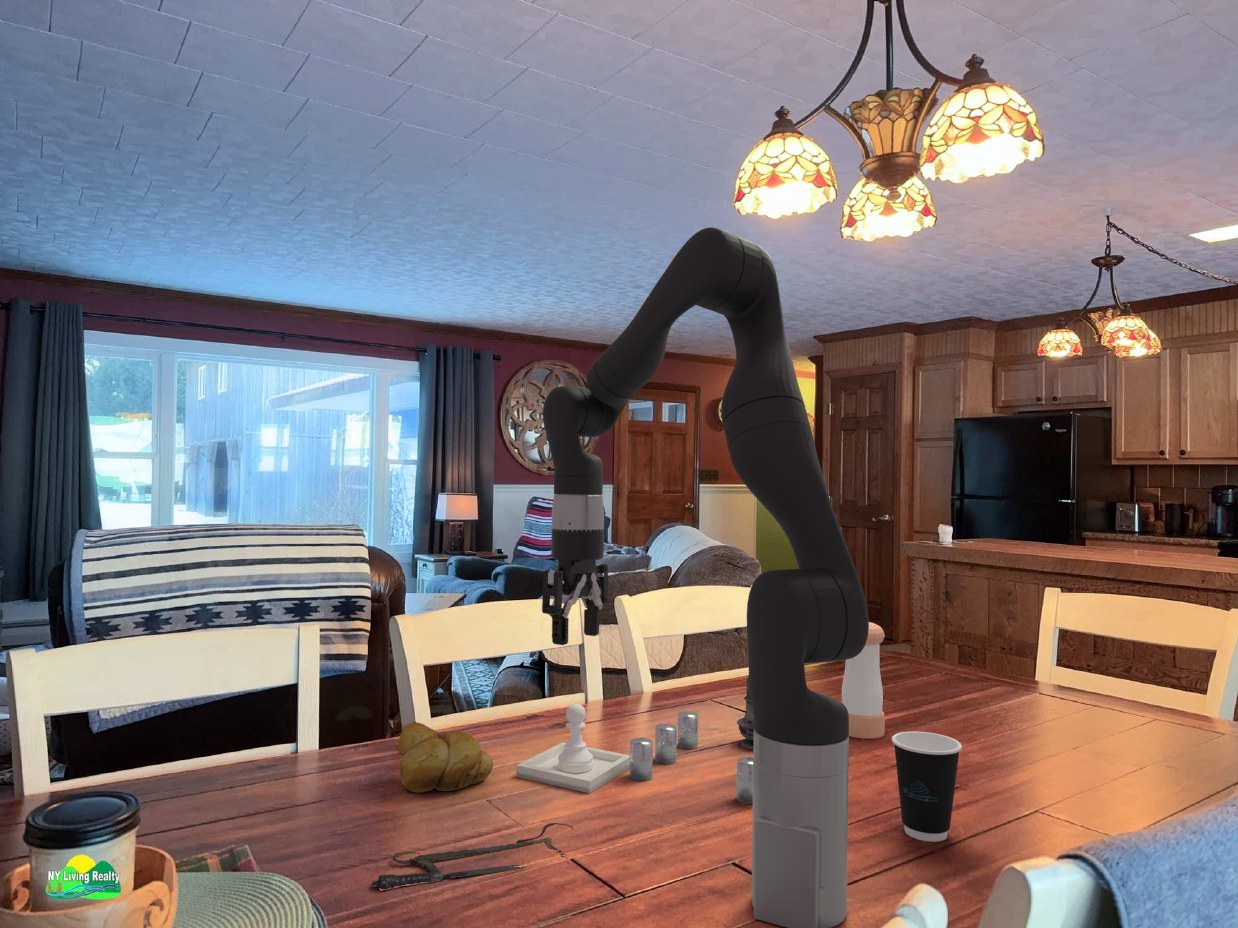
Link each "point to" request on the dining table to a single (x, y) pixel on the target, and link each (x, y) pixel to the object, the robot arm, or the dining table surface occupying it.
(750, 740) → the grey chess piece
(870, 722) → the pepper shaker
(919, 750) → the dixie cup
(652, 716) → the dining table surface
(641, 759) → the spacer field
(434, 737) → the bread roll
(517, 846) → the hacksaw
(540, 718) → the dining table surface
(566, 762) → the chess pawn
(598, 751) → the square tray
